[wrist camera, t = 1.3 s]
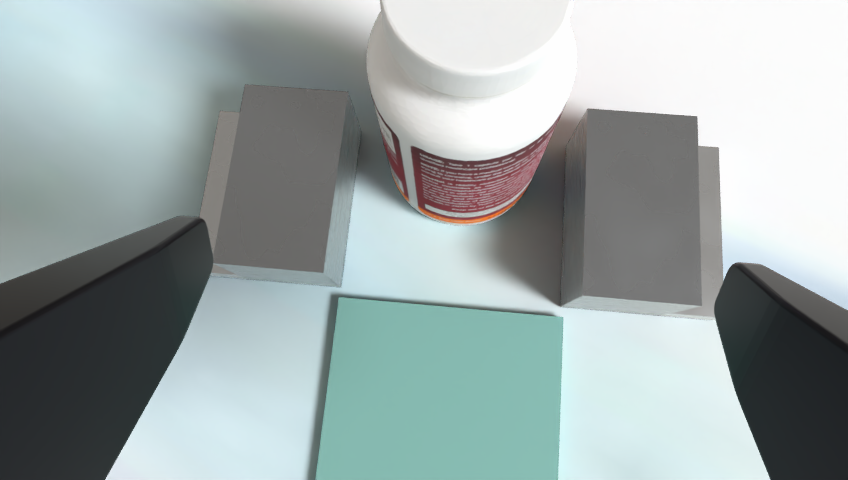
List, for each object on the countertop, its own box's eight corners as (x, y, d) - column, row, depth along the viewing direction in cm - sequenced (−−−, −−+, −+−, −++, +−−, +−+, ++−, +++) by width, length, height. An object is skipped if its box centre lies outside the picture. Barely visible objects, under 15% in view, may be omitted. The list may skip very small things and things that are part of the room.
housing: (711, 320, 22) (762, 311, 18) (199, 274, 23) (156, 258, 19) (706, 156, 23) (753, 120, 20) (228, 121, 24) (193, 80, 21)
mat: (552, 564, 20) (554, 569, 19) (309, 537, 20) (307, 541, 20) (561, 318, 22) (563, 317, 21) (340, 298, 22) (338, 297, 22)
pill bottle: (561, 147, 23) (663, -38, 13) (476, 258, 22) (511, 158, 12) (446, 70, 24) (452, -161, 14) (361, 173, 23) (295, 10, 13)
